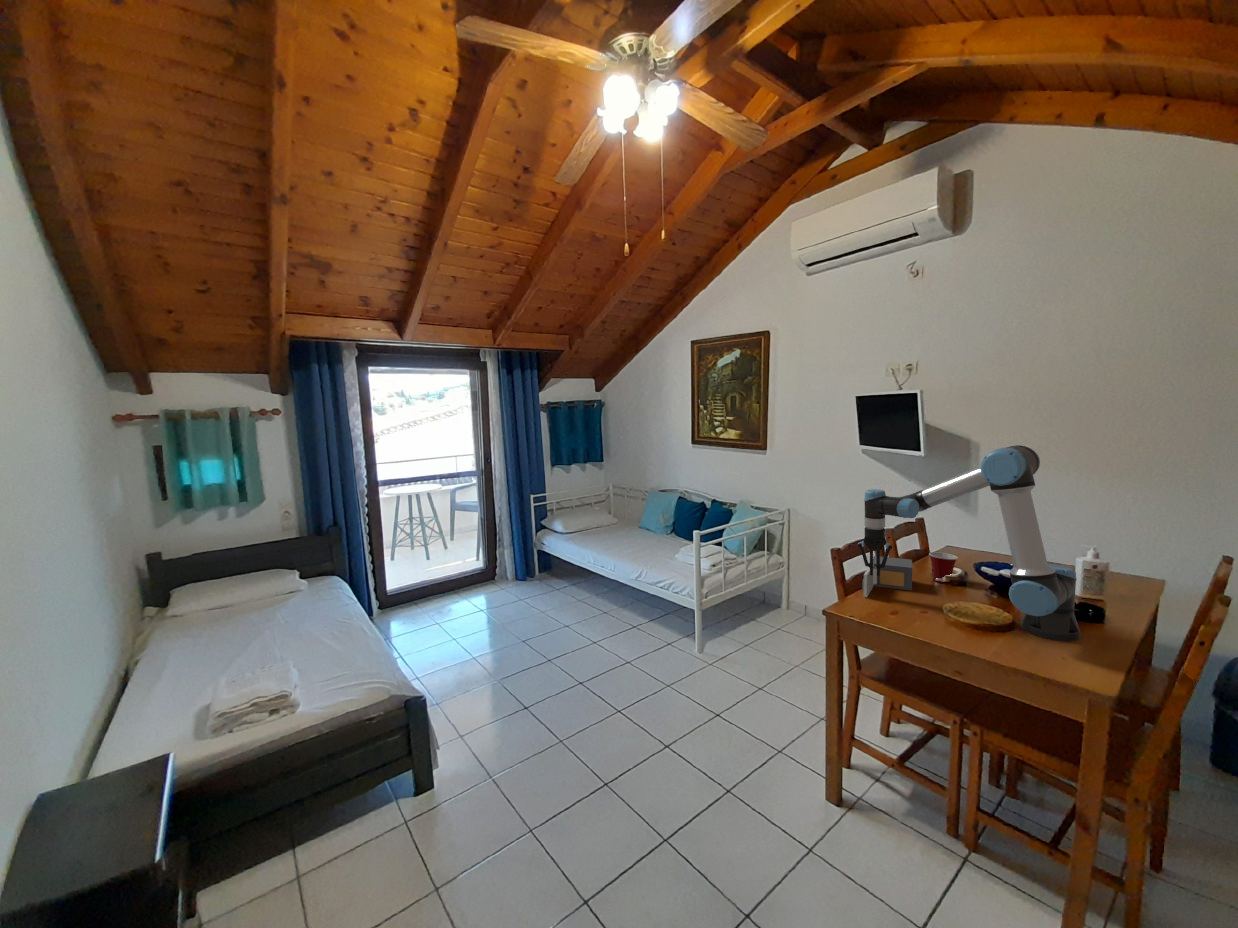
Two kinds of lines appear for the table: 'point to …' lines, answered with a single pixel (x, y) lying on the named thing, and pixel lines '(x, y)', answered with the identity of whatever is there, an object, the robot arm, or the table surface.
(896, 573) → the grey box with door
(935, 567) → the plastic cup
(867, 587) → the side door
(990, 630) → the table surface
